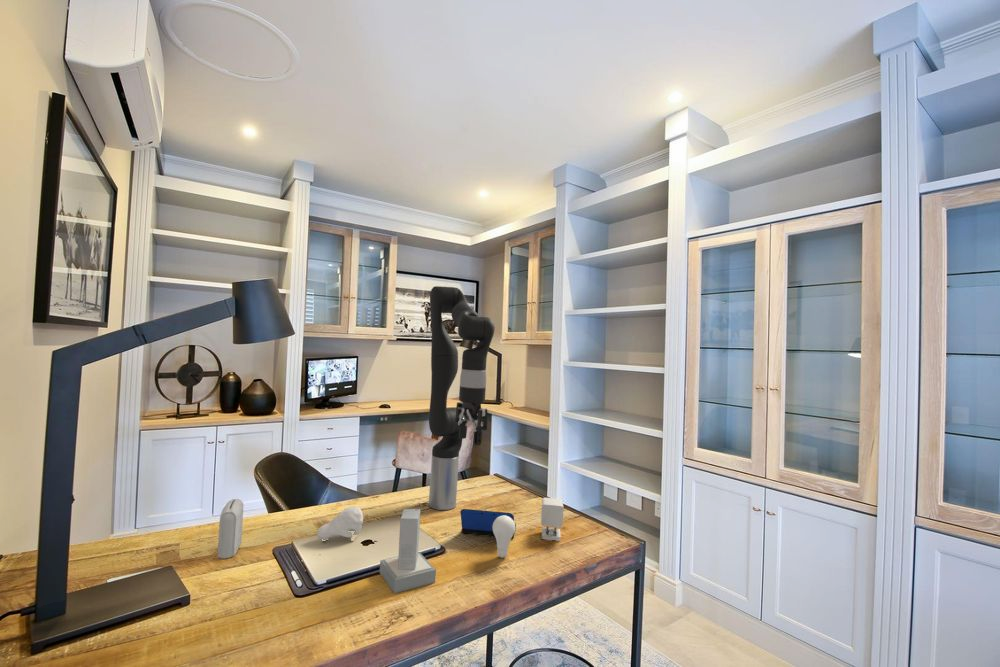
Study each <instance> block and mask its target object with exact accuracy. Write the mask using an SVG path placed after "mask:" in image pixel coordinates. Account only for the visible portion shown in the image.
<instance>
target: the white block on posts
mask: <svg viewBox="0 0 1000 667" xmlns="http://www.w3.org/2000/svg"><path fill="white" fill-rule="evenodd" d="M540 514H541V517H540V518H541V519H540V522H541V523H540V524H541V526H543V527H542V528H541V540H542V539H547V540H546V541H552V540H556V541H555V542H561V539H562V538H561V537H562V536H561V529H560V528H562V527H563V525H564V502H563V499H561V498H556V497H555V498H554V497H543V498H542V500H541V513H540Z"/></svg>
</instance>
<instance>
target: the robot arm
mask: <svg viewBox="0 0 1000 667" xmlns="http://www.w3.org/2000/svg"><path fill="white" fill-rule="evenodd" d="M429 308H430V322H431V324H430V325H431V346H430V347H431V352H430V353H431V354H430V355H431V356H430V358H431V360H430V362H431V363H430V368H431V370H430V371H431V380H430V381H431V384H430V385H431V387H430V389H431V390H430V401H429V402H430V403H429V409H428V410H429V412H428V413H429V414H428V427H429V430H430V433H431V434H432V435H433V436H434V437H436V438H440V437H442V438H441V439H440V440H439V441H438V442H437V443H436V444H434V445H433V446H432V450H431V466H430V468H431V469H430V476H429V477H430V478H429V494H428V507H430V508H431V509H433V510H437V511H448V510H452V509H454V508H456V506H457V495H458V479H459V478H458V477H459V458H460V451H461V449H462V446H463V445H462V444H463V440H464V439H466V438H467V433H468V432H467V431H468V426H467V425H468V422H469V423H470V425H472V429H473V437H472V438H473V441H472V444H473V445H474V446H480V445H481V444H482V436H483V434H482V433H483V432H484V431H487V430H488V409H487V408H482V404H483V403H485V400H486V386H487V371H486V370H487V360H488V359H487V358H488V353H489V349H490V345H491V343H492V341H493V337H494V336H495V335H494V334H495V323H494V321H493V319H491V318H490V317H488V316H479V314H478V313H477V312H476V310H474V308H472V307H471V306H470V304H469V303H468V300H467V298H466V297H465V295H464V293H463V292H462V290H461V289H459V288H458V287H454V286H453V287H452V286H438V285H437V286H433V287H432V288H431V289H430V294H429ZM442 314H451V319H452V321H453V322H454V324H455V325H456V327H457V334H458V336H459V338H460V339H462V340H465V341H476V342H478V344H477V345H476V346H475V347H471V348H466V349H464V350H463V351H462V354H461V355H462V356H461V361H462V362H461V370H460V371H461V372H460V379H459V390H458V391H459V393H458V394H459V395H458V401H459V402H456V407H448V406H447V403H448V395H449V391H450V388H451V387H452V385H453V382H454V381H455V379H456V377H457V373H458V370H459V352H458V347H457V345H456V344H455V342H454V340H453V339H452V338H451V336H450V334H449V333H448V331H447V330H446V327H445V325H444V321H443V317H442V316H443V315H442Z"/></svg>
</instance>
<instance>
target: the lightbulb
mask: <svg viewBox="0 0 1000 667" xmlns="http://www.w3.org/2000/svg"><path fill="white" fill-rule="evenodd" d="M515 524H516V523H515V520H514V521H513V520H512V519H511V518H510V517H508V516H505V515H503V516H499V517H498V518H496V519H495V521H494V523H493V528H492V529H493V533H494V535H495V537H494V538H495V540H496V548H497V556H498V557H500V558H501V559H504V558H506V557H507V556H508V551H509V550H508V549H509V547H510V542H511V540H512V539H511V538H512V536H513V535H514V536H515V534H516V529H515ZM514 533H515V534H514Z"/></svg>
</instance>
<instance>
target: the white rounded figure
mask: <svg viewBox="0 0 1000 667" xmlns="http://www.w3.org/2000/svg"><path fill="white" fill-rule="evenodd" d="M363 515H364V513H363V511H362V508H361V507H360V506H349V507H346V508H344V509H343V510H341V511H340V512H339V513H338V514H337V515H336V516H335V517H333V519H332V520H331V521H329V522H328V523H325V524H323V525H321V526H320V527H319V528H317V529H318V530H317V537H318V539H320V540H321V539H323V540H327V539H328V538H329V539H330V538H331V537H344V538H351V537H352V533H351V532H348V531H349V530H350V531H355V532H354V534H353V535H359V536H360V534H361V533H362V532H361V531H362V525H363V523H364V516H363ZM329 539H328V541H330V540H329ZM328 541H327V542H328Z"/></svg>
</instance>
